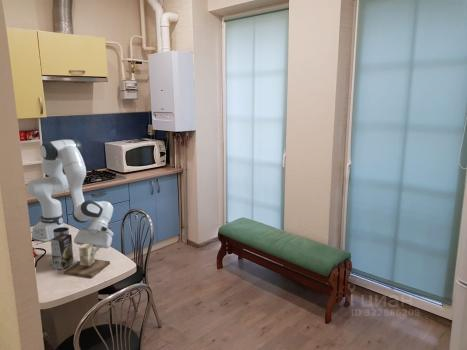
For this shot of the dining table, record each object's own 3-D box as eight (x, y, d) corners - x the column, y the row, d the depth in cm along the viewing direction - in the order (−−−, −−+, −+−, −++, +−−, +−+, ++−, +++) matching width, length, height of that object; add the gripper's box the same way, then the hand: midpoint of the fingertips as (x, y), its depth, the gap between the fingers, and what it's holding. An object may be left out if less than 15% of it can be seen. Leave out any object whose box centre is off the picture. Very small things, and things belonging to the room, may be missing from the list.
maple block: (80, 264, 188) (79, 247, 186) (86, 260, 193) (85, 243, 191) (88, 266, 187) (87, 248, 185) (94, 261, 192) (93, 244, 190)
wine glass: (73, 252, 209) (71, 227, 206) (64, 258, 202) (62, 232, 199) (61, 250, 211) (59, 226, 208) (52, 256, 204) (49, 231, 200)
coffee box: (63, 269, 189) (60, 240, 186) (52, 268, 190) (49, 239, 187) (74, 261, 198) (71, 234, 194) (63, 260, 199) (61, 233, 195)
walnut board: (64, 273, 185) (64, 270, 185) (84, 260, 200) (84, 257, 200) (92, 278, 181) (92, 275, 181) (109, 263, 197) (109, 261, 196)
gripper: (77, 225, 196) (67, 249, 189) (111, 229, 191) (101, 254, 184) (83, 229, 201) (73, 253, 194) (116, 234, 197) (107, 258, 190)
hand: (87, 253), depth 189 cm, fingers closed on maple block, 5 cm apart
